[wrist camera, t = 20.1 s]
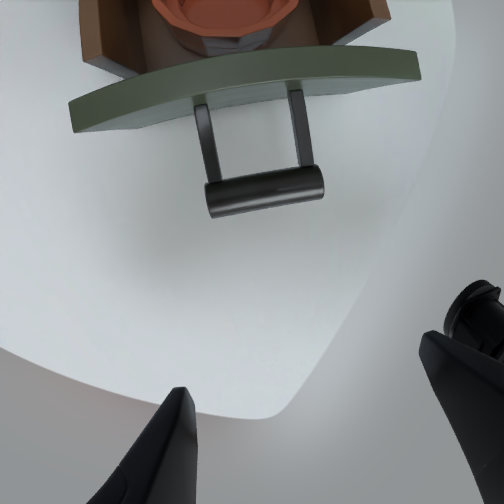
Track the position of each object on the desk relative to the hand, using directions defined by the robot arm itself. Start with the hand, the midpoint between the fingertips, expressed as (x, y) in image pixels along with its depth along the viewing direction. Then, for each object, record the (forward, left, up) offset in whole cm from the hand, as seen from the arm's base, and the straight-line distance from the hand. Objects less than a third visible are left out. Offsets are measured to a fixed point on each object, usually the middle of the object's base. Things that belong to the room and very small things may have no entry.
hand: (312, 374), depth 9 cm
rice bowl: (0, -14, -10) cm, 17 cm away
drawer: (0, -13, -11) cm, 17 cm away
